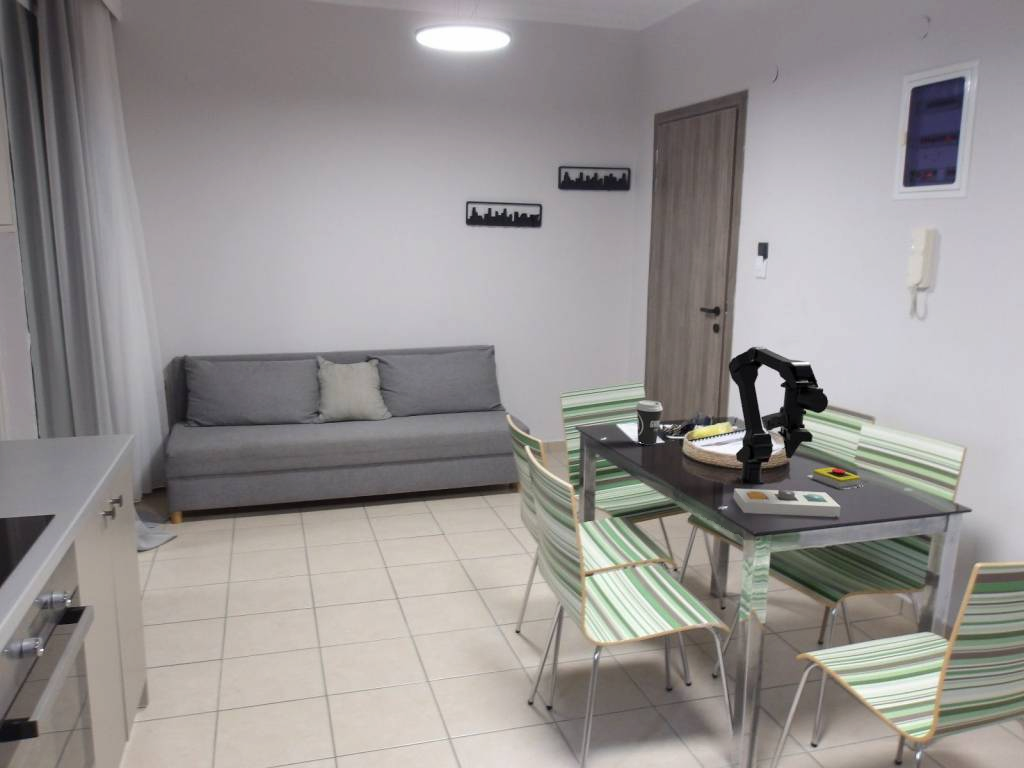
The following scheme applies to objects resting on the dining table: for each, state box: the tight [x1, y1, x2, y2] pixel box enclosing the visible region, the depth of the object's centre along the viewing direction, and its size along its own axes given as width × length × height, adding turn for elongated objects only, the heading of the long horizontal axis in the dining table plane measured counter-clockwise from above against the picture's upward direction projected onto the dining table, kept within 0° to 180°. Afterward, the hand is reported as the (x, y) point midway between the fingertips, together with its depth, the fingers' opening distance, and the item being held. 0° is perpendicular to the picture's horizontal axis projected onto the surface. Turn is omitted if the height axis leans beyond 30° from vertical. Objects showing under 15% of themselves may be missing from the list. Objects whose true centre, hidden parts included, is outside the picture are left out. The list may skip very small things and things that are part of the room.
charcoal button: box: [778, 489, 795, 501], centre depth 224 cm, size 4×4×2 cm
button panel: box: [733, 488, 841, 518], centre depth 224 cm, size 12×26×3 cm, turn 88°
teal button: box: [806, 494, 823, 502], centre depth 224 cm, size 4×4×2 cm
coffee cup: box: [635, 400, 664, 444], centre depth 287 cm, size 10×10×15 cm
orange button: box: [749, 492, 766, 499], centre depth 224 cm, size 4×4×2 cm
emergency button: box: [806, 467, 864, 491], centre depth 250 cm, size 9×4×15 cm
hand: (788, 457), depth 231 cm, fingers closed
